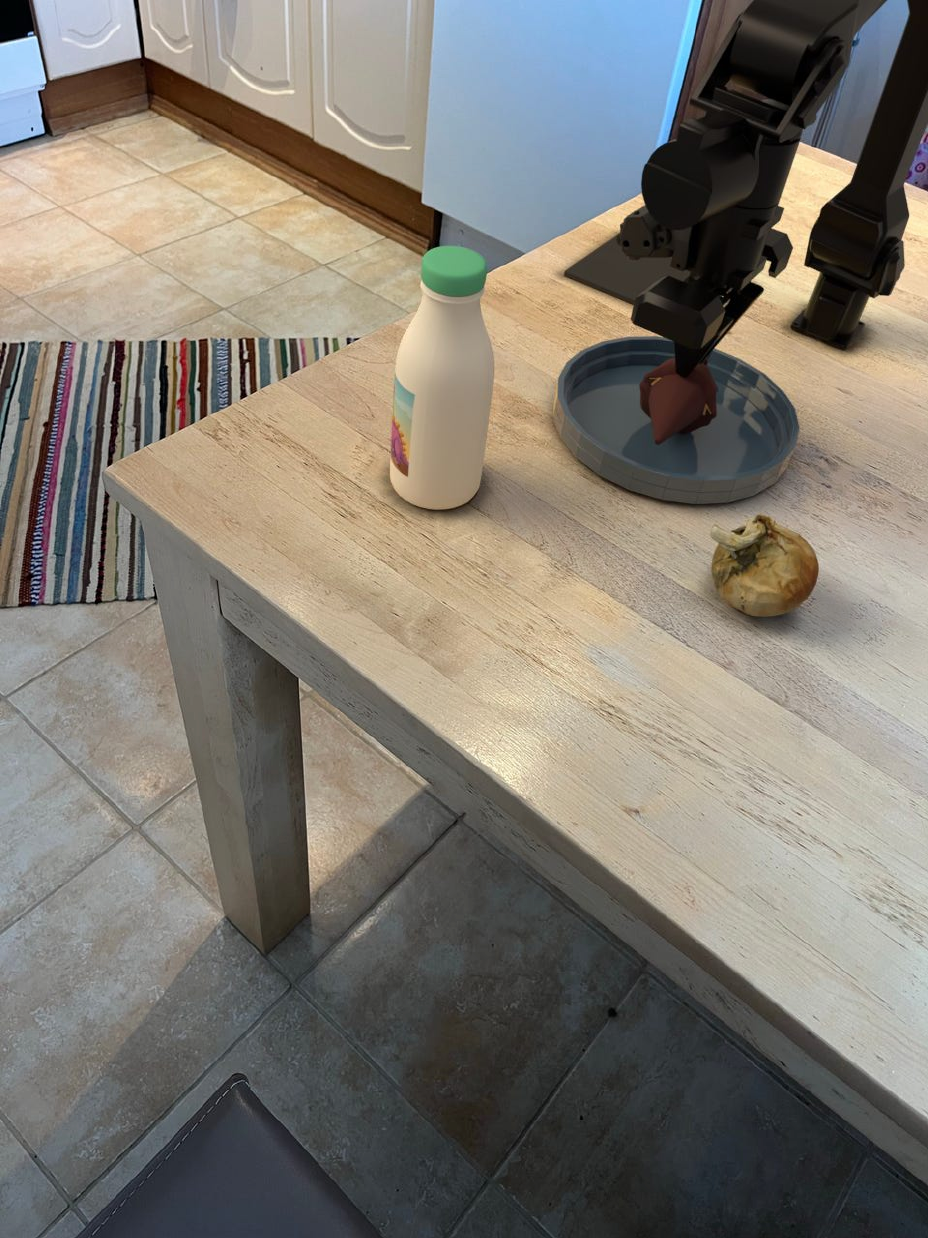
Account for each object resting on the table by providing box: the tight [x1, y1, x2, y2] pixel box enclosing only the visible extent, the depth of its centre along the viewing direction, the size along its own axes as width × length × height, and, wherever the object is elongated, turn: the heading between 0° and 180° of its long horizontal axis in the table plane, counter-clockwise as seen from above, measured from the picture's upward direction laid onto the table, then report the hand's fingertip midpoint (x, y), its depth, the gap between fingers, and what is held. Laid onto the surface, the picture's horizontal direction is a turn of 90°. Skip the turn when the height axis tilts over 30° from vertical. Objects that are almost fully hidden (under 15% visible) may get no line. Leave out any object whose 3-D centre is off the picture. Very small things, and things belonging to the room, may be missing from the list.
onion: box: [709, 513, 820, 617], centre depth 72 cm, size 8×8×8 cm
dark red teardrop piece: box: [639, 353, 718, 445], centre depth 86 cm, size 7×7×15 cm
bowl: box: [552, 335, 801, 505], centre depth 88 cm, size 22×22×3 cm
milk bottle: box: [389, 245, 495, 511], centre depth 73 cm, size 8×8×20 cm
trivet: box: [563, 232, 752, 306], centre depth 108 cm, size 14×17×1 cm
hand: (688, 368), depth 84 cm, fingers closed on dark red teardrop piece, 2 cm apart
